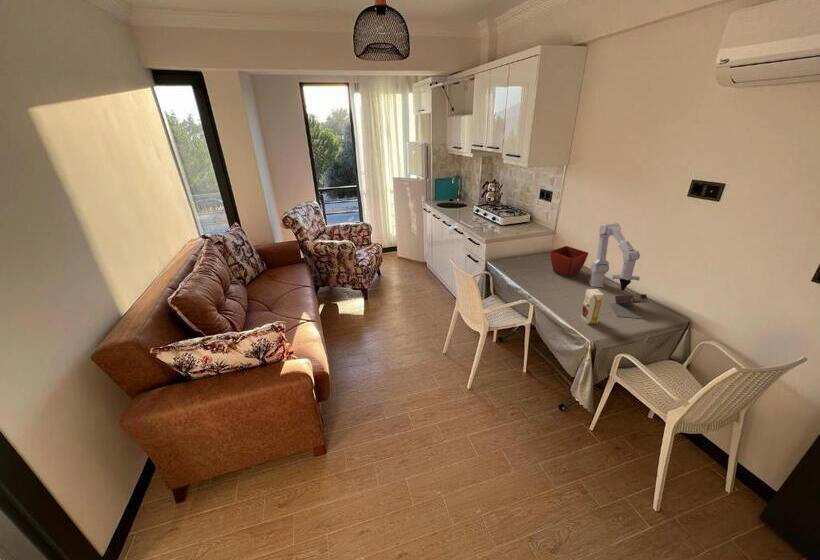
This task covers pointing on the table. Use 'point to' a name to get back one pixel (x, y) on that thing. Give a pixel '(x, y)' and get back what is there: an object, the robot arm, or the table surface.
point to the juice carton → (592, 306)
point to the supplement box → (631, 298)
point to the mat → (625, 310)
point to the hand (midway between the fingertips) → (622, 289)
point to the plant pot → (567, 260)
